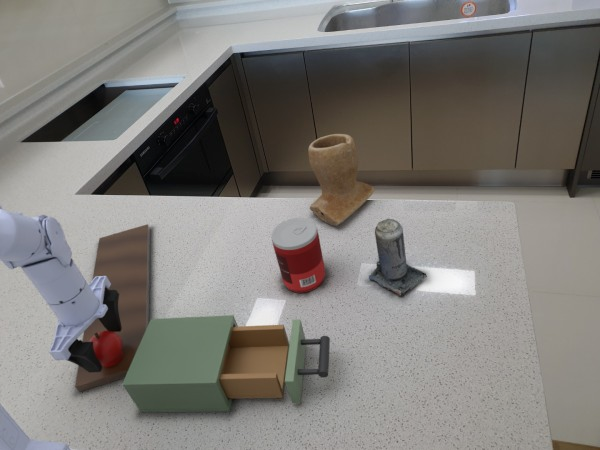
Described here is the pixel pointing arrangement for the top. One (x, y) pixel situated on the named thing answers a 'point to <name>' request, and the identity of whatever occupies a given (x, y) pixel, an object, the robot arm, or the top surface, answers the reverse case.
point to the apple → (107, 348)
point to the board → (122, 298)
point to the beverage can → (393, 259)
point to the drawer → (269, 361)
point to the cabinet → (181, 365)
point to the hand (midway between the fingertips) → (106, 349)
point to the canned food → (299, 254)
